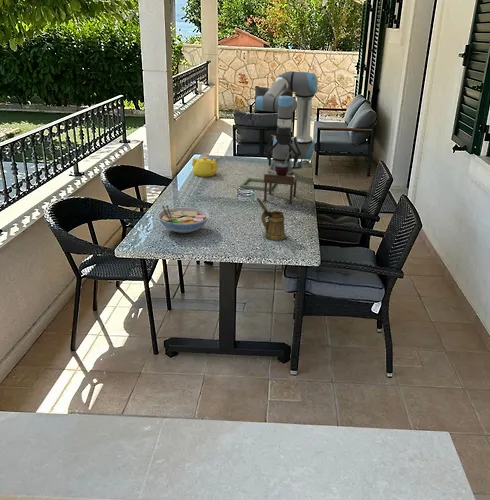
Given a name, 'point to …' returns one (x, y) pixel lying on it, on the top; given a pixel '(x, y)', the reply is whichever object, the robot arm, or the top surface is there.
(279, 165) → the mate gourd
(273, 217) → the wooden mug
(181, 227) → the ramen bowl
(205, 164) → the teapot
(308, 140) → the robot arm
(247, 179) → the bottom bay
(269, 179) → the stand
